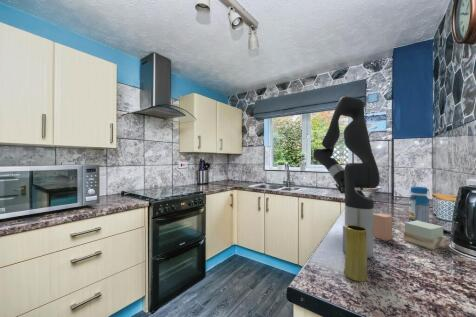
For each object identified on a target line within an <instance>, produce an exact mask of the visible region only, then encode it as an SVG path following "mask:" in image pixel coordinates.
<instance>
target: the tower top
mask: <svg viewBox="0 0 476 317" xmlns="http://www.w3.org/2000/svg"><path fill="white" fill-rule="evenodd" d="M404 231H405V232H407V233H411V234H414V235H417V236H421V237H424V238H428V239H435V238H439V237H443V236H444V226H442V225H438V224H433V223H430V222H429V223H426V222H422V221H417V220H416V221H411V222H409V221H406V222H404Z"/></svg>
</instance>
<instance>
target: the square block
mask: <svg viewBox="0 0 476 317" xmlns="http://www.w3.org/2000/svg"><path fill="white" fill-rule="evenodd" d="M393 217H394V216H393V215H389V214H386V213H374V236H373V238H377V239H379V240H382V241H390V240H393Z"/></svg>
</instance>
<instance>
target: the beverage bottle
mask: <svg viewBox="0 0 476 317" xmlns="http://www.w3.org/2000/svg"><path fill="white" fill-rule="evenodd" d="M410 193H411V195H409V198H408V200H409V202H408V207H409V208H408V218H409V219H408V222H411V221H416V220H417V221H422V222H426V223H430V198H429V197H428V196H427V195H428V188H427V187H424V186H411V187H410Z"/></svg>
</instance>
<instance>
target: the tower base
mask: <svg viewBox="0 0 476 317" xmlns="http://www.w3.org/2000/svg"><path fill="white" fill-rule="evenodd" d="M403 241H405V242H409V243H412V244H415V245H418V246H422V247H424V248H428V249H430V250H437V249H439V248H443V247H447V236H446V235H443V237H439V238H435V239H428V238H424V237H421V236H417V235H414V234H411V233H407V232H405V230H404V231H403Z"/></svg>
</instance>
